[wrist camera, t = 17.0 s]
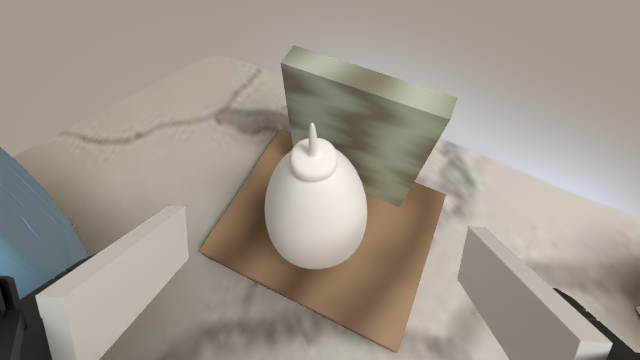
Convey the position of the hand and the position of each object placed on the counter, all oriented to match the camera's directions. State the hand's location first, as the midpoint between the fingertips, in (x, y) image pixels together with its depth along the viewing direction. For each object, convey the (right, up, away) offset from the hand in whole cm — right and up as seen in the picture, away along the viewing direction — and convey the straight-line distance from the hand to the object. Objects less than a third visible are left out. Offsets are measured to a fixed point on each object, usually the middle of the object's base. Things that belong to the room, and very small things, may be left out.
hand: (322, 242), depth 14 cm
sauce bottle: (0, -3, +16) cm, 16 cm away
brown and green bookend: (+1, -2, +18) cm, 18 cm away
